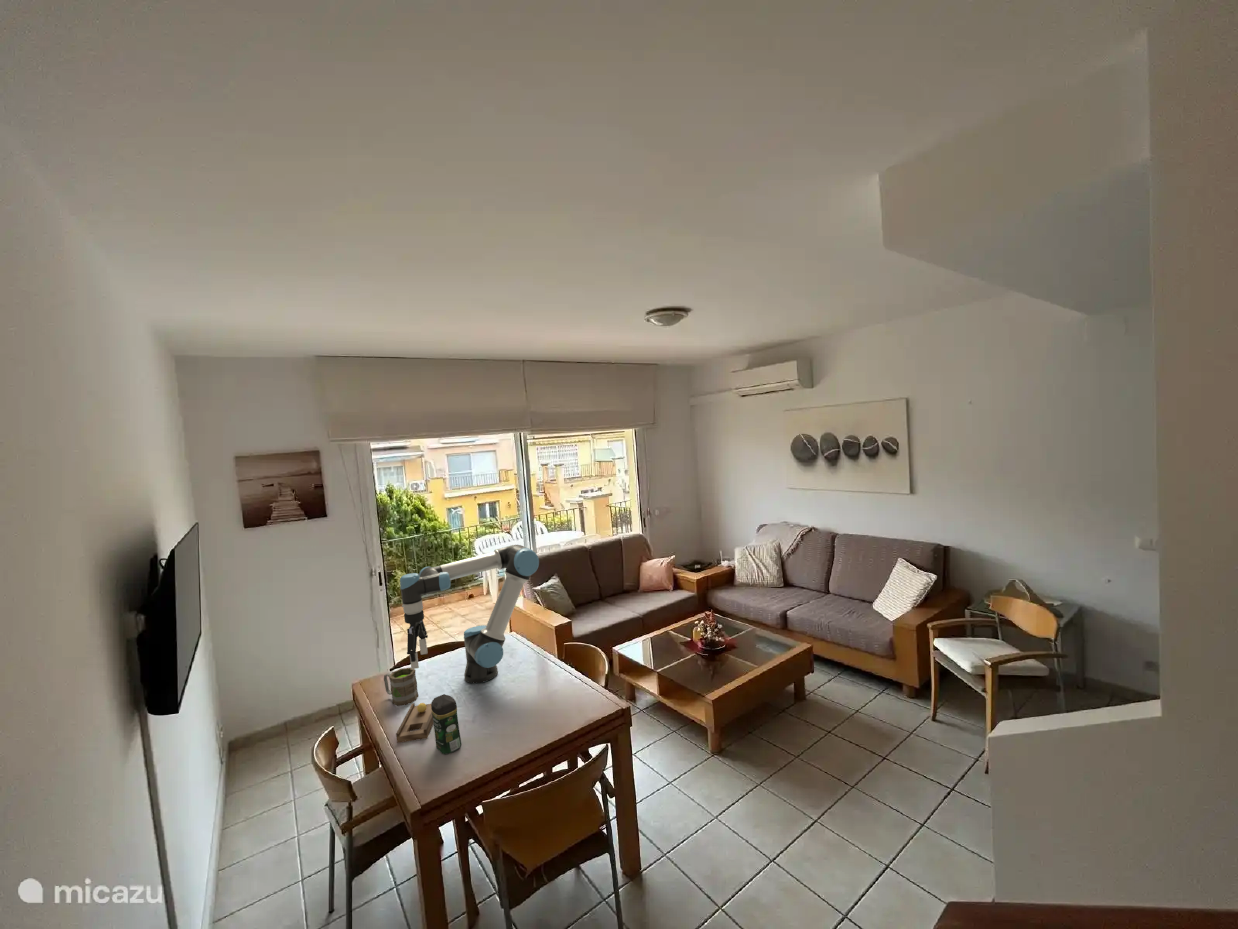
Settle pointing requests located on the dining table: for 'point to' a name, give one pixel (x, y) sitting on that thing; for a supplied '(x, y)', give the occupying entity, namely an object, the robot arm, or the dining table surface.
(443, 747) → the coffee jar
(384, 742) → the dining table surface
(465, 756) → the dining table surface
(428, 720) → the lane board
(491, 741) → the dining table surface
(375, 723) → the dining table surface
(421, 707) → the ball
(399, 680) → the mug
